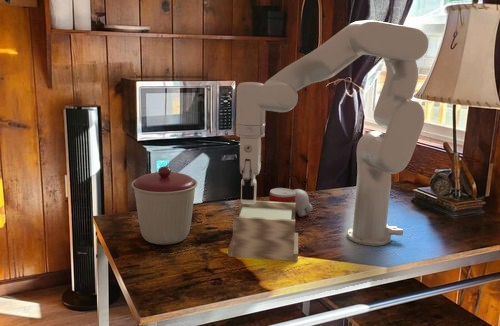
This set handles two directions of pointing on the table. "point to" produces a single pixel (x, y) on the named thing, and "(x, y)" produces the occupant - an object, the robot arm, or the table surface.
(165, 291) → the table surface
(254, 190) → the pepper shaker
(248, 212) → the trapdoor
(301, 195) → the chubby cartoon animal
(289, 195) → the canned food
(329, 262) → the table surface
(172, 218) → the canister
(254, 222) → the stand
